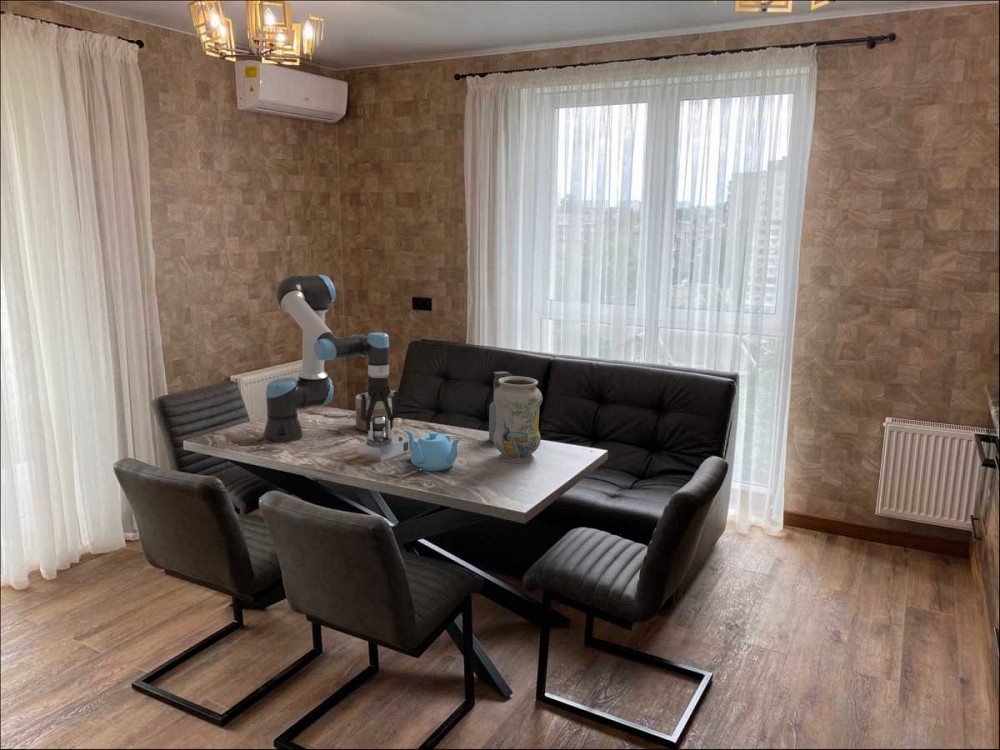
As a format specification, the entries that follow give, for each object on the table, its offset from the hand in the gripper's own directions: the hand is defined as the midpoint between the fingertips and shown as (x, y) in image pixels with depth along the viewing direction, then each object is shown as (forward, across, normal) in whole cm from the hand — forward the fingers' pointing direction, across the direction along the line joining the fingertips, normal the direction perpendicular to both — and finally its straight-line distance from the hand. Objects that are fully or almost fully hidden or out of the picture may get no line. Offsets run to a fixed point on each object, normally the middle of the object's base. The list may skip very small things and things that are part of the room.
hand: (379, 437), depth 275 cm
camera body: (+7, +2, +1) cm, 7 cm away
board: (+8, -2, +3) cm, 9 cm away
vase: (+8, +47, -19) cm, 51 cm away
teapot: (+8, +14, -15) cm, 22 cm away
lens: (+2, 0, 0) cm, 2 cm away
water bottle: (+8, +53, +5) cm, 53 cm away
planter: (+8, +12, +42) cm, 45 cm away
